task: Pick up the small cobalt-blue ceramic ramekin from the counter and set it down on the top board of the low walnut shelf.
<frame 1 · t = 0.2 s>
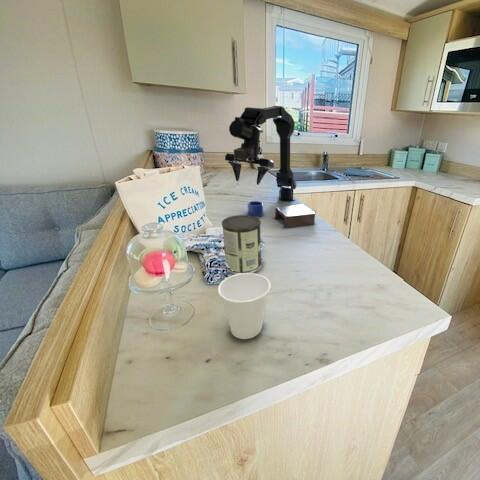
hand: (247, 182, 110), 15 cm above the countertop, tool pointing down, fingers open, 9 cm apart
ramekin: (255, 214, 121), on the countertop
cup: (246, 330, 58), on the countertop
coffee can: (243, 266, 81), on the countertop
shelf: (294, 221, 117), on the countertop
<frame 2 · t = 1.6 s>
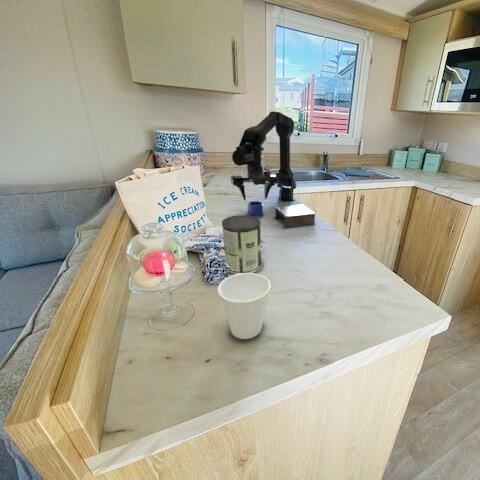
hand: (255, 199, 118), 7 cm above the countertop, tool pointing down, fingers open, 9 cm apart
nothing on the countertop moved.
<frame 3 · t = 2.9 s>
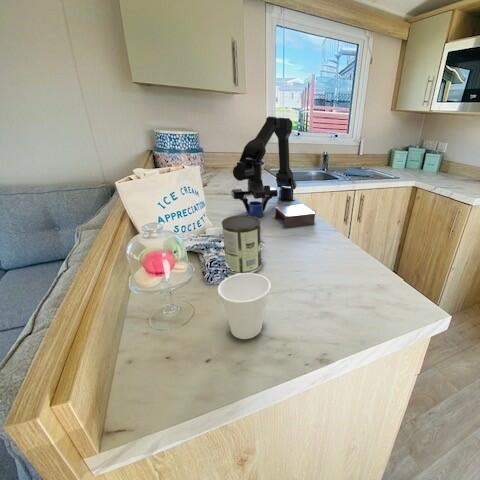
hand: (255, 212, 121), 1 cm above the countertop, tool pointing down, fingers closed on ramekin, 6 cm apart
ramekin: (255, 214, 121), on the countertop, touching gripper
everything else where it was.
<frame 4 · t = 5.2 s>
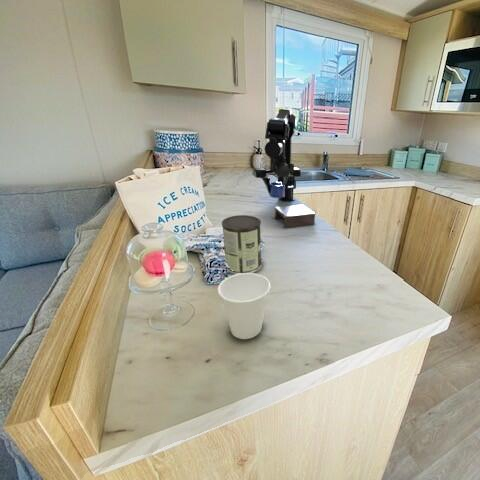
hand: (277, 193, 114), 11 cm above the countertop, tool pointing down, fingers closed on ramekin, 6 cm apart
ramekin: (277, 195, 114), point 10 cm above the countertop, touching gripper
everything else where it was.
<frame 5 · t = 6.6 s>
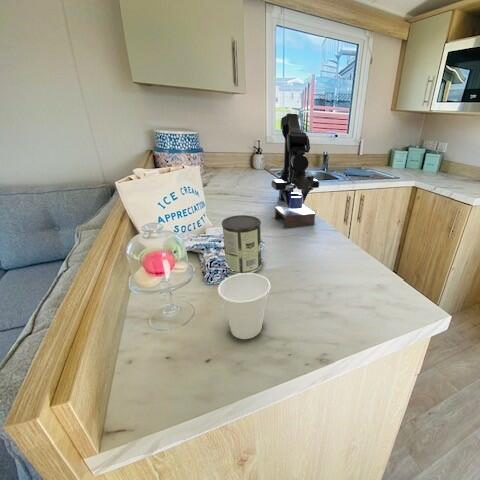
hand: (295, 204, 114), 8 cm above the countertop, tool pointing down, fingers closed on ramekin, 6 cm apart
ramekin: (295, 206, 114), point 6 cm above the countertop, touching gripper
everything else where it was.
when the fingers open (6 cm above the countertop, at t = 7.6 s): ramekin stays where it is, resting on shelf.
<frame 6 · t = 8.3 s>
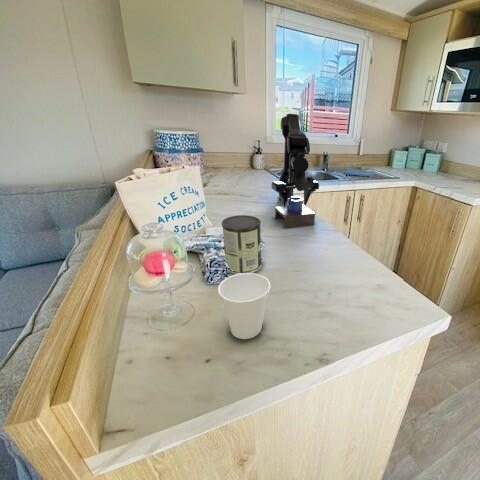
hand: (295, 205, 114), 7 cm above the countertop, tool pointing down, fingers open, 9 cm apart
ramekin: (294, 210, 115), point 5 cm above the countertop, touching shelf
everything else where it was.
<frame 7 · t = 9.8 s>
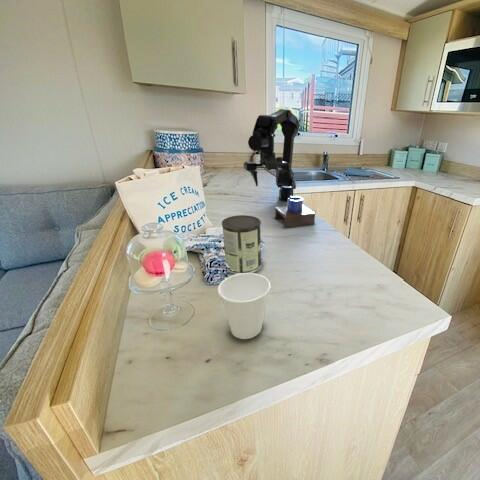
hand: (267, 185, 120), 12 cm above the countertop, tool pointing down, fingers open, 9 cm apart
nothing on the countertop moved.
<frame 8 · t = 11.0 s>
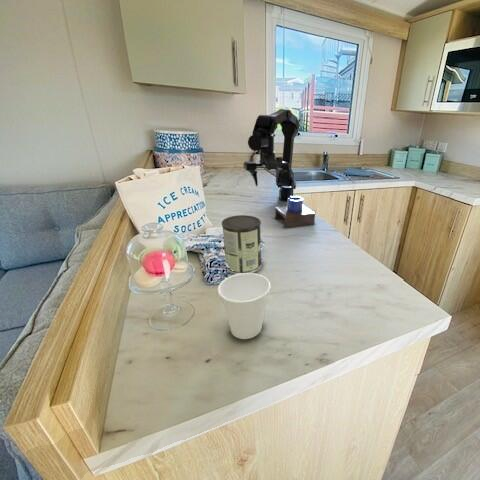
hand: (267, 185, 120), 12 cm above the countertop, tool pointing down, fingers open, 9 cm apart
nothing on the countertop moved.
at the end: ramekin inside the target area on the shelf (0.0 cm from its centre), point 5.0 cm above the shelf's base; ramekin tilted 0°; the gripper is holding nothing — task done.
